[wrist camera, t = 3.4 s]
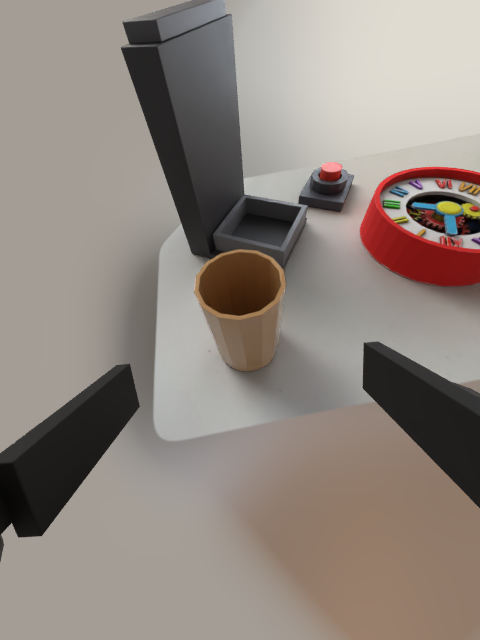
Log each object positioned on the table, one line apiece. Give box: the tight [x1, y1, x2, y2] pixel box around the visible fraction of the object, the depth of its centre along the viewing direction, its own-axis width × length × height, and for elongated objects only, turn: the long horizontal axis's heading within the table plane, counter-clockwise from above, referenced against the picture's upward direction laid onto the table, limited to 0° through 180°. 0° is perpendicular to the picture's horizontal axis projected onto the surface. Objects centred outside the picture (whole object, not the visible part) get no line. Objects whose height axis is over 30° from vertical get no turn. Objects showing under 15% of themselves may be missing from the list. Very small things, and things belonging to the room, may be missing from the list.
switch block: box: [298, 167, 354, 212], centre depth 43 cm, size 10×8×4 cm
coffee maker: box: [121, 0, 308, 269], centre depth 29 cm, size 14×16×24 cm
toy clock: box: [360, 167, 480, 287], centre depth 33 cm, size 20×6×20 cm
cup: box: [194, 249, 286, 371], centre depth 24 cm, size 8×8×12 cm
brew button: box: [320, 162, 342, 181], centre depth 41 cm, size 4×4×2 cm
